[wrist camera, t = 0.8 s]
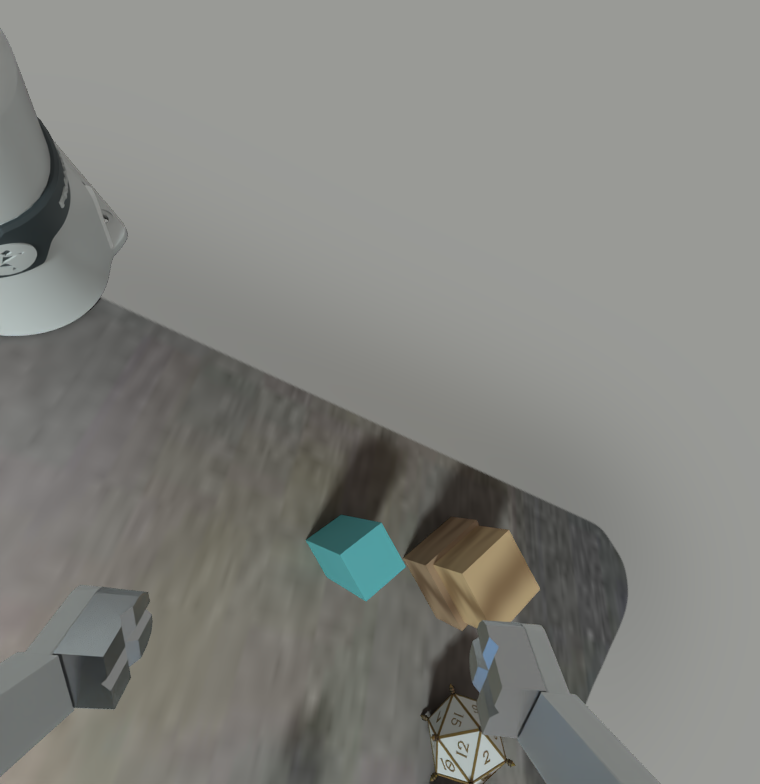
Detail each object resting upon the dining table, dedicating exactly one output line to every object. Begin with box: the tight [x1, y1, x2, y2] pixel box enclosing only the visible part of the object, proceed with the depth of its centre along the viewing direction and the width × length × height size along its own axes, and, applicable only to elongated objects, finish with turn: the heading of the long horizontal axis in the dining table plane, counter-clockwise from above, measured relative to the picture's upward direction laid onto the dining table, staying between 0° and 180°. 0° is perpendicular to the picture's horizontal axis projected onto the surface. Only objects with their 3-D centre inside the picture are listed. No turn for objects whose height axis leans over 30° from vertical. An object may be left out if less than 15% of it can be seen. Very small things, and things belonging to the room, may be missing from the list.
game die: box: [420, 684, 516, 784], centre depth 43 cm, size 9×8×10 cm
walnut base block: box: [403, 517, 479, 631], centre depth 48 cm, size 8×8×5 cm
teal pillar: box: [306, 515, 406, 601], centre depth 40 cm, size 4×4×10 cm
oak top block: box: [433, 525, 540, 628], centre depth 44 cm, size 7×7×5 cm
